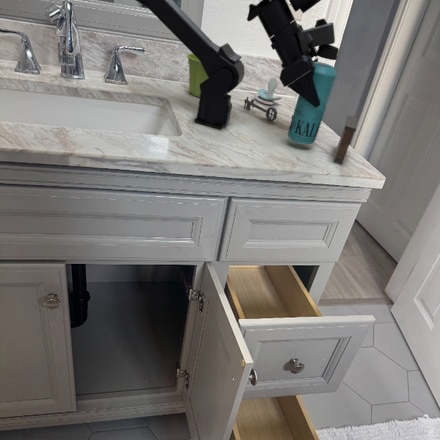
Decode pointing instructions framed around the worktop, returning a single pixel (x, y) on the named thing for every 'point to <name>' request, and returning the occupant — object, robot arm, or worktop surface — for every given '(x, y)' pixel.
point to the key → (251, 103)
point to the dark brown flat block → (345, 139)
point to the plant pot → (195, 74)
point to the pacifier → (268, 93)
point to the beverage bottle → (312, 116)
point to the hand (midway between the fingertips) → (318, 102)
